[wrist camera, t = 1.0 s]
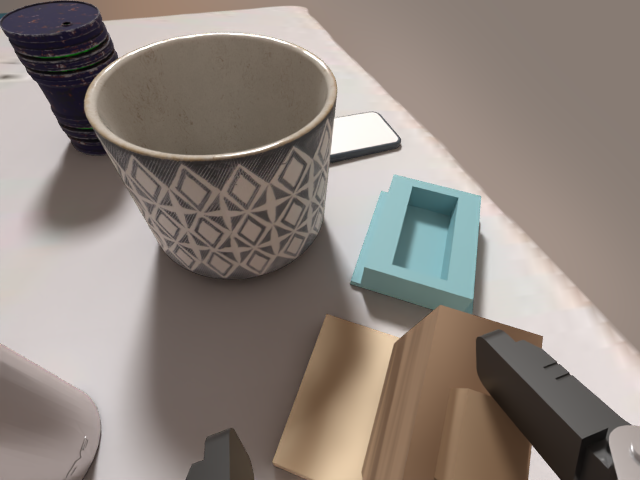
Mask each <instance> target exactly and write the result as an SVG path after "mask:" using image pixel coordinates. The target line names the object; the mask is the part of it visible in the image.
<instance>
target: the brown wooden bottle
mask: <svg viewBox="0 0 640 480" xmlns="http://www.w3.org/2000/svg"><path fill="white" fill-rule="evenodd" d="M498 329H500V330H503V331H504V332H505V333H507V334H508V335H509V336H510V337H511V338H512V339H513V340H514V341H515V342H518V341H520V340H525V341H527V342H529V343H531V344H533V345H535V346H537V347H539V348H541V349H542V340H543V336H540V335H537V334H534V333H531V332H527V331H524V330H521V329H518V328H514V327H511V326H508V325H505V324H501V323H498V322H495V321H492V320H488V319H485V318H482V317H479V316H475V315H472V314H469V313H466V312H462V311H459V310H456V309H453V308H449V307H446V306H443V305H439V306H438V307H437V308H436V309H434V310H433V311H432V312H431V313H430V314H428V315H427V316H426V317H425V318H424V319H422V320H421V321H420V322H419V323H418V324H416V325H415V326H414V327H413V328H412V329H411V330H409V331H408V332H407V333H406V334H405V335H403V336H402V337H401V338H400V339H399V340H397V341H396V342H395V343H394V345H393V349H392V353H391V357H390V360H389V364H388V368H387V372H386V376H385V380H384V384H383V388H382V392H381V396H380V400H379V404H378V408H377V412H376V416H375V420H374V424H373V428H372V431H371V435H370V439H369V443H368V447H367V451H366V455H365V459H364V463H363V467H362V471H361V473H362V477H363V480H528V475H529V466H530V456H531V446H532V444H531V443H530V442H529V441H528V440H527V438H526V437H525V436H524V435H523V434H522V432H521V431H520V430H519V429H518V427H517V426H516V425H515V424H514V423H513V421H512V420H511V419H510V418H509V417H508V415H507V414H506V413H505V412H504V411H503V409H502V408H501V407H500V406H499V404H498V403H497V402H496V401H495V400H494V398H493V397H492V396H491V395H490V394H489V392H488V391H487V390H486V389H485V387H484V386H483V384H482V383H481V381H480V379H479V376H478V374H477V369H476V338H477V337H479V336H482V335H484V334H487V333H490V332H492V331H495V330H498Z"/></svg>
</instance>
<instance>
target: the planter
mask: <svg viewBox="0 0 640 480" xmlns="http://www.w3.org/2000/svg"><path fill="white" fill-rule="evenodd" d="M336 98H337V84H336V80H335V77H334V75H333V73H332V72H331V70H330V68H329V67H328V66H327V65H326V64H325V63H324V62H323V61H322V60H321V59H320V58H318V57H317V56H316V55H314V54H313V53H311V52H309V51H308V50H306V49H304V48H302V47H299V46H297V45H295V44H292V43H289V42H286V41H283V40H279V39H276V38H271V37H266V36H261V35H254V34H244V33H206V34H195V35H188V36H182V37H176V38H171V39H167V40H163V41H159V42H156V43H153V44H150V45H147V46H144V47H141V48H139V49H136V50H134V51H132V52H130V53H128V54H126V55H124V56H122V57H120V58H118V59H117V60H115V61H114V62H112V63H111V64H109V65H108V66H107V67H105V68H104V69H103V70H102V71H101V72H100V73H99V74H98V75H97V76H96V77H95V78H94V79H93V81H92V82H91V84H90V85H89V87H88V89H87V92H86V95H85V100H84V109H85V114H86V117H87V119H88V121H89V123H90V124H91V126H92V128H93V130H94V131H95V133H96V135H97V137H98V138H99V140H100V142H101V144H102V145H103V147H104V149H105V151H106V152H107V154H108V156H109V158H110V159H111V161H112V163H113V165H114V166H115V168H116V170H117V171H118V173H119V175H120V177H121V178H122V180H123V182H124V184H125V185H126V187H127V189H128V191H129V192H130V194H131V196H132V198H133V199H134V201H135V203H136V205H137V206H138V208H139V210H140V211H141V213H142V215H143V217H144V218H145V220H146V222H147V224H148V225H149V227H150V229H151V231H152V232H153V234H154V236H155V238H156V239H157V241H158V243H159V245H160V246H161V248H162V249H163V250H164V252H165V253H166V254H167V255H168V256H169V257H170V258H171V259H172V260H173V261H175V262H176V263H177V264H179V265H180V266H182V267H183V268H185V269H187V270H189V271H192V272H194V273H197V274H200V275H203V276H207V277H212V278H219V279H243V278H250V277H256V276H260V275H263V274H267V273H270V272H272V271H275V270H277V269H279V268H282V267H283V266H285V265H287V264H289V263H290V262H292V261H293V260H295V259H296V258H298V257H299V256H300V255H301V254H302V253H303V252H304V251H305V250H306V249H307V248H308V247H309V246H310V245H311V244H312V242H313V241H314V240H315V238H316V236H317V235H318V233H319V230H320V228H321V225H322V222H323V217H324V209H325V200H326V190H327V181H328V172H329V163H330V154H331V144H332V135H333V126H334V117H335V107H336Z"/></svg>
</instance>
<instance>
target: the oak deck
mask: <svg viewBox="0 0 640 480" xmlns="http://www.w3.org/2000/svg"><path fill="white" fill-rule="evenodd" d="M399 339H400V338H398V337H395V336H392V335H389V334H386V333H383V332H380V331H377V330H374V329H371V328H368V327H365V326H362V325H359V324H356V323H353V322H350V321H347V320H344V319H341V318H338V317H335V316H332V315H329V314H326V317H325V319H324V322H323V325H322V328H321V330H320V333H319V336H318V339H317V341H316V344H315V347H314V349H313V352H312V355H311V358H310V360H309V363H308V366H307V369H306V371H305V374H304V377H303V380H302V382H301V385H300V388H299V390H298V393H297V396H296V399H295V401H294V404H293V407H292V410H291V412H290V415H289V418H288V421H287V423H286V426H285V429H284V431H283V434H282V437H281V440H280V442H279V445H278V448H277V451H276V453H275V456H274V459H273V462H272V463H273V465H274V466H276V467H278V468H281V469H283V470H285V471H288V472H290V473H293V474H295V475H297V476H300V477H302V478H304V479H307V480H363V477H362V473H361V471H362V467H363V463H364V459H365V455H366V451H367V447H368V443H369V439H370V435H371V431H372V428H373V424H374V420H375V416H376V412H377V408H378V404H379V400H380V396H381V392H382V388H383V384H384V380H385V376H386V372H387V368H388V364H389V360H390V357H391V353H392V349H393V345H394V343H395V342H396V341H397V340H399Z"/></svg>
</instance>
